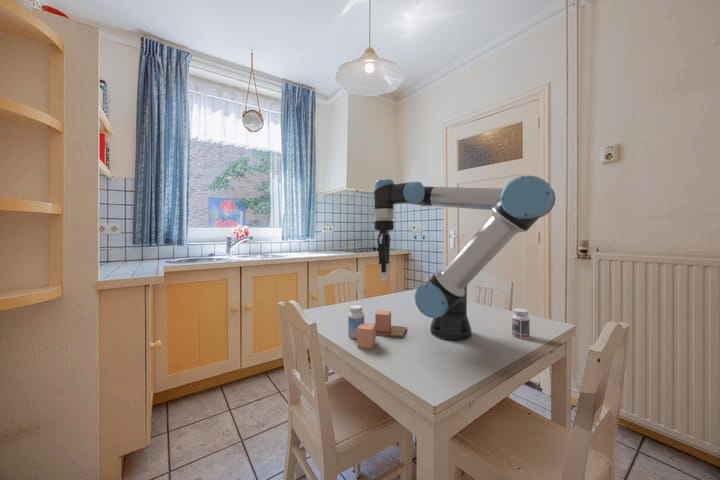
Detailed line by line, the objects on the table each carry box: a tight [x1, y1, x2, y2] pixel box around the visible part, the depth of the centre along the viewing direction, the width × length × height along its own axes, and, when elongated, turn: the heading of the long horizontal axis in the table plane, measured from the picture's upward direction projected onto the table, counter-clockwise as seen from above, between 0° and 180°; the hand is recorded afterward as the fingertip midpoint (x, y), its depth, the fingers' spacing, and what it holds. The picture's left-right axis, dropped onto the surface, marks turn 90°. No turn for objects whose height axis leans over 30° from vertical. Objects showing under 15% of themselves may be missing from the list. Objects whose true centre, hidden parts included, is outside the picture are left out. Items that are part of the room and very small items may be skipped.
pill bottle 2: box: [511, 307, 531, 340], centre depth 107 cm, size 6×6×10 cm
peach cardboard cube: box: [356, 323, 377, 350], centre depth 100 cm, size 5×5×7 cm
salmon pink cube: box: [374, 310, 392, 332], centre depth 114 cm, size 5×5×7 cm
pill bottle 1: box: [347, 304, 365, 340], centre depth 109 cm, size 6×6×11 cm
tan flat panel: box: [372, 323, 407, 339], centre depth 114 cm, size 14×10×6 cm
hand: (384, 280), depth 113 cm, fingers closed
